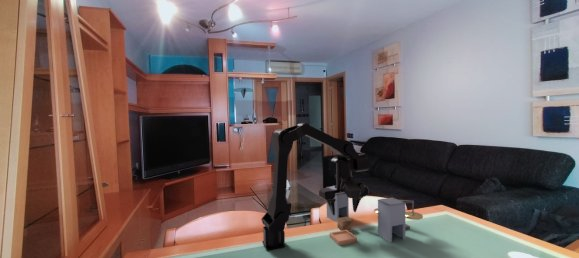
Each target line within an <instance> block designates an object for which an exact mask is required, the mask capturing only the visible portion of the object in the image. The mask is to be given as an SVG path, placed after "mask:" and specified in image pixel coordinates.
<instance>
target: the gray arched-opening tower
mask: <svg viewBox="0 0 579 258" xmlns="http://www.w3.org/2000/svg"><path fill="white" fill-rule="evenodd" d="M400 200H401V199H397V198H396V197H388V198H387V197H385V198H379V199H377V208H378V214H377V236H379V237H381V238H383V239H384V240H386V241H387V242H388V243H393V234H394V235H396V236H398V237H400V238H401V239H402V240H406V230H405V224H406V217H405V212H406V203H405V202H402V201H400Z"/></svg>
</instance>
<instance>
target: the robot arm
mask: <svg viewBox="0 0 579 258" xmlns="http://www.w3.org/2000/svg"><path fill="white" fill-rule="evenodd" d="M303 137H307V138H310V139H312V140H314V141H316V142H318V143H320V144H322V145H325V146H326V147H327V148H328V149H330V151H332V152H333V153H334V154H336V155H334V156H333V157H332V159H330V162H332V163H335V165H336V166H335V168H336V169H335V171H336V172H335V174H334V178H335V181H336V182H335V183H336V184H335V185H334V186H335V188H336V190H332V189H330V188H326V187H324V188H320V189H319V191H318V196H319V197H321V198H322V199H324V200H325V202H326V204H327V203H328V205H329V208H330V210H331V212H332V215H335V201H336V199H334V197H335V195H339V194H346V195H347V197H348V199H351V200H352V210H353V211H352V212H354V213H356V212H357V210H358V207H359V205H360V203H361V199H363V198H364V197H367V195H369V193H370V189H369V187H368V186H367V185H365V183H364V182H363V181H361V182H355V178H354V176H352V173H358V172H365V171H369V169H370V168H371V162H370V160H369V157H368V156H367V153H365V152H364V153H363V152H362V153H358V152H357V151H356V149H355V146H354V143H353V142H352V141H350V140H346V139H342V138H338V137H335V136H333V135H330V134H328V133H326V132H324V131H322V130H320V129H318V128H316V127H314V126H312V125H310V123H308V122H299V123H298V124H296V125H292V126H289V127H287V128H284V129H282V128H281V129H280V128H279V129H275V130H274V131H273V132H272V134H271V142H272V150H273V152H274V164H273V165H274V167H273V169H274V170H273V184H272V185H273V186H272V197H271V198H270V199H269V203H268V206H267V211H266V212H265V214H264V215H263V216H262V217H261V219H260V220H261V222H262V224H263V225H264V226H263V229H262V230H263V233H262V235H263V240H262V245H263V247H264V248H265V251H271V250H275V249H283V248H285V247H286V245H285V242H286V241H285V239H286V238H285V234H286V233H285V227H286V224H287V223H288V221H289V220H290V217H291V216H292V212H291V209H292V203H291V202H290V201H288V199H287V181H288V169H289V168H288V165H289V164H288V163H289V155H290V153H291V152H292V149H293V147H294V142H296V141H298V140H300V139H301V138H303Z"/></svg>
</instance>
